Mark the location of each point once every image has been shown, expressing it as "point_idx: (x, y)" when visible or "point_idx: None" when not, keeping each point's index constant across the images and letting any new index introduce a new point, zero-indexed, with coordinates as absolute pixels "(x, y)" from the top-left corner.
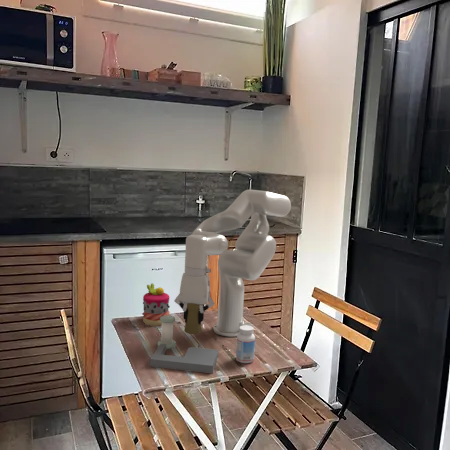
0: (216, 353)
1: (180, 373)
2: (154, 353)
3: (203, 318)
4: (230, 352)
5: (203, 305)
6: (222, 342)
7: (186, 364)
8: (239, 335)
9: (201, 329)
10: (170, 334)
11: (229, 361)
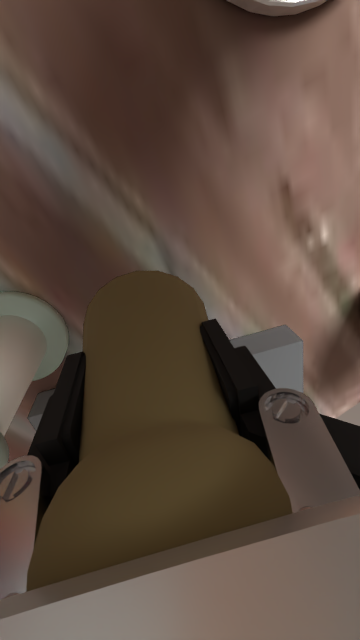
0: (300, 373)
1: None
2: None
3: (247, 350)
4: (330, 257)
5: (330, 484)
6: (275, 146)
7: None
8: None
9: (204, 308)
10: (27, 388)
11: (332, 336)
